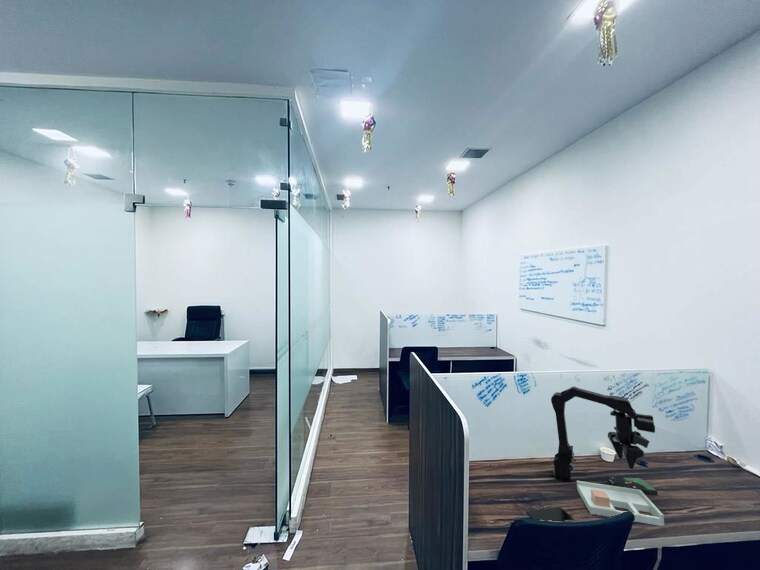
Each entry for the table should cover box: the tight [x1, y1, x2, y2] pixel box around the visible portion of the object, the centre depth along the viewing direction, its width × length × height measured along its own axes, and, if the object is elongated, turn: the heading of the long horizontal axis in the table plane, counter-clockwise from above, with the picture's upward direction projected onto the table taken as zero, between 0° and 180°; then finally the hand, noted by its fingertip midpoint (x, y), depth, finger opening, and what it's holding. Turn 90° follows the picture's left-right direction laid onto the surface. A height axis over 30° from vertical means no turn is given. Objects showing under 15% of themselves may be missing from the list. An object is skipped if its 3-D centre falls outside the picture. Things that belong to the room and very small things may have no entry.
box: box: [576, 480, 665, 527], centre depth 127 cm, size 24×17×4 cm
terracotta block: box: [591, 489, 610, 508], centre depth 125 cm, size 5×5×4 cm
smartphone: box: [525, 506, 575, 521], centre depth 121 cm, size 8×1×16 cm
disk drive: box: [607, 475, 659, 496], centre depth 140 cm, size 10×3×15 cm
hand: (625, 463), depth 135 cm, fingers open, 9 cm apart
